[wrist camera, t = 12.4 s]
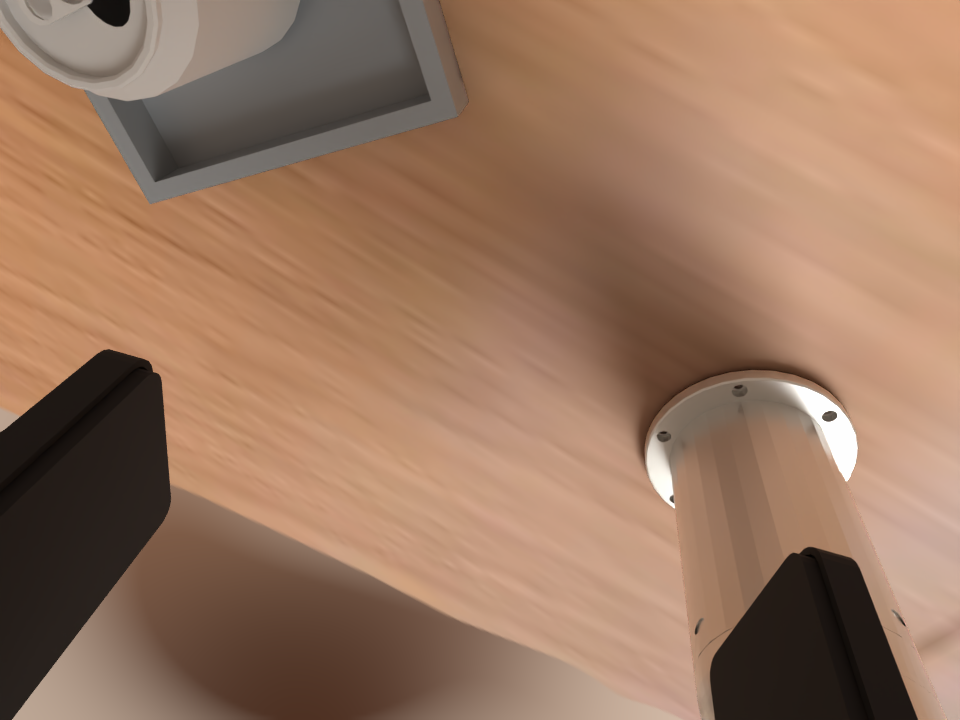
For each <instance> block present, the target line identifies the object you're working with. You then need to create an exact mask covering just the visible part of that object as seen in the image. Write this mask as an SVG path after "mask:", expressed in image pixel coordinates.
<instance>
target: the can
mask: <svg viewBox="0 0 960 720" xmlns="http://www.w3.org/2000/svg"><path fill="white" fill-rule="evenodd" d="M299 3H300V0H0V28H1V29H2V30H3V32H4V33H5V34H6V35H7V37H8V38H9V39H10V41H11V42H12V43H13V44H14V46H15V47H16V48H17V50H18V51H19V52H20V53H22V54H23V55H24V56H25V57H26V58H27V59H29V60H30V61H31V62H32V63H33V64H34V65H36V66H37V67H38V68H39V69H40V70H42V71H43V72H44V73H45V74H47V75H49V76H51V77H53V78H55V79H57V80H59V81H61V82H63V83H65V84H67V85H69V86H71V87H74V88H79V89H84V90H89V91H91V92H92V93H94V94H96V95H99V96H104V97H109V98H114V99H119V100H124V101H132V100H138V99H144V98H150V97H156V96H158V95H160V94H163V93H165V92H168V91H170V90H172V89H175V88H177V87H180V86H182V85H184V84H187V83H189V82H192V81H194V80H196V79H199V78H201V77H203V76H206V75H208V74H211V73H213V72H215V71H218V70H220V69H223V68H225V67H227V66H230V65H232V64H235V63H237V62H239V61H242V60H244V59H247V58H249V57H251V56H254V55H256V54H259V53H261V52H263V51H265V50H266V49H268V48H269V47H271V46H272V45H274V44H276V43H277V42H279V41H280V40H281V39H282V38H283V36H284V35H285V34H286V32H287V31H288V29H289V28H290V27H291V25H292V24H293V22H294V21H295V17H296V14H297V10H298V6H299Z"/></svg>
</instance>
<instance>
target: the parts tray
mask: <svg viewBox="0 0 960 720" xmlns="http://www.w3.org/2000/svg"><path fill="white" fill-rule="evenodd" d="M84 91H85V92H86V94H87V96H88V98H89V99H90V101H91V103H92V105H93V106H94V108H95V110H96V112H97V113H98V115H99V117H100V118H101V120H102V122H103V124H104V125H105V127H106V129H107V131H108V132H109V134H110V136H111V138H112V139H113V141H114V143H115V145H116V146H117V148H118V150H119V151H120V153H121V155H122V157H123V158H124V160H125V162H126V164H127V165H128V167H129V169H130V171H131V172H132V174H133V176H134V178H135V179H136V181H137V183H138V184H139V186H140V188H141V190H142V191H143V193H144V195H145V197H146V198H147V200H148V202H149V204H152V203H156V202H159V201H163V200H166V199H170V198H173V197H177V196H180V195H184V194H187V193H191V192H195V191H198V190H202V189H205V188H209V187H212V186H216V185H219V184H223V183H226V182H230V181H233V180H237V179H240V178H244V177H247V176H251V175H254V174H258V173H262V172H265V171H269V170H272V169H276V168H279V167H283V166H286V165H290V164H293V163H297V162H300V161H304V160H307V159H311V158H314V157H318V156H321V155H325V154H328V153H332V152H336V151H339V150H343V149H346V148H350V147H353V146H357V145H360V144H364V143H367V142H371V141H374V140H378V139H381V138H385V137H388V136H392V135H395V134H399V133H402V132H406V131H410V130H413V129H417V128H420V127H424V126H427V125H431V124H434V123H438V122H441V121H445V120H448V119H452V118H455V117H458V116H459V115H460V113H461V112H462V111H463V109H464V108H465V106H466V105H467V104H468V102H469V100H468V97H467V93H466V90H465V87H464V83H463V80H462V76H461V73H460V70H459V66H458V63H457V59H456V56H455V53H454V49H453V46H452V43H451V39H450V36H449V32H448V29H447V26H446V22H445V19H444V15H443V12H442V9H441V5H440V2H439V0H300V3H299V6H298V10H297V14H296V17H295V21H294V22H293V24H292V25H291V27H290V28H289V29H288V31H287V32H286V34H285V35H284V36H283V38H282V39H281V40H280V41H279V42H277V43H276V44H274V45H272V46H271V47H269V48H268V49H266V50H265V51H263V52H261V53H259V54H256V55H254V56H251V57H249V58H247V59H244V60H242V61H239V62H237V63H235V64H232V65H230V66H227V67H225V68H223V69H220V70H218V71H215V72H213V73H211V74H208V75H206V76H203V77H201V78H199V79H196V80H194V81H192V82H189V83H187V84H184V85H182V86H180V87H177V88H175V89H172V90H170V91H168V92H165V93H163V94H160V95H158V96H156V97H150V98H144V99H138V100H132V101H124V100H119V99H114V98H109V97H104V96H99V95H96V94H94V93H92V92H91V91H89V90H84Z"/></svg>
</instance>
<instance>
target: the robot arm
mask: <svg viewBox="0 0 960 720" xmlns="http://www.w3.org/2000/svg"><path fill="white" fill-rule="evenodd" d="M644 450H645V465H646V470H647V474H648V478H649V480H650V482H651V484H652V486H653V488H654V489H655V491H656V492H657V493H658V494H659V495H660V497H661V498H662V499H663V500H664V501H665V502H666V503H668V504H669V505H670V506H671V507H673V508H674V509H675V512H676V521H677V530H678V538H679V547H680V556H681V564H682V573H683V582H684V590H685V599H686V608H687V616H688V625H689V634H690V642H691V651H692V660H693V668H694V677H695V685H696V693H697V701H698V706H699V711H700V715H701V719H702V720H947V718H946V716H945V714H944V711H943V709H942V707H941V704H940V702H939V700H938V698H937V695H936V693H935V691H934V688H933V686H932V684H931V681H930V679H929V677H928V674H927V672H926V669H925V667H924V665H923V662H922V660H921V658H920V655H919V653H918V651H917V648H916V646H915V643H914V641H913V639H912V636H911V634H910V632H909V629H908V627H907V624H906V622H905V620H904V617H903V615H902V613H901V610H900V608H899V606H898V603H897V601H896V598H895V596H894V594H893V591H892V589H891V587H890V584H889V582H888V579H887V577H886V575H885V572H884V570H883V568H882V565H881V563H880V560H879V558H878V556H877V553H876V551H875V549H874V546H873V544H872V541H871V539H870V537H869V534H868V532H867V530H866V527H865V525H864V523H863V520H862V518H861V515H860V513H859V511H858V508H857V506H856V504H855V501H854V499H853V496H852V494H851V492H850V489H849V487H848V485H847V480H848V479H849V478H850V476H851V474H852V471H853V469H854V467H855V464H856V461H857V454H858V442H857V435H856V431H855V429H854V426H853V424H852V422H851V419H850V417H849V415H848V414H847V412H846V411H845V409H844V407H843V406H842V404H841V403H840V402H839V401H838V400H837V399H836V398H835V397H834V396H833V395H832V394H831V393H830V392H829V391H827V390H825V389H824V388H822V387H821V386H819V385H817V384H816V383H814V382H812V381H809V380H807V379H804V378H802V377H799V376H796V375H793V374H788V373H783V372H778V371H768V370H746V371H737V372H730V373H726V374H722V375H718V376H714V377H710V378H708V379H706V380H703V381H701V382H699V383H696V384H694V385H692V386H690V387H688V388H687V389H685V390H684V391H682V392H680V393H679V394H677V395H676V396H675V397H673V398H672V399H671V400H670V401H669V402H668V403H667V404H666V405H665V406H664V407H662V409H661V410H660V412H659V413H658V414H657V416H656V417H655V418H654V420H653V421H652V424H651V426H650V428H649V430H648V433H647V436H646V442H645V448H644ZM170 502H171V493H170V481H169V468H168V456H167V443H166V431H165V418H164V405H163V393H162V381H161V377H160V375H159V374H157V373H154V372H153V369H152V365H151V364H150V362H149V361H147V360H145V359H142V358H138V357H135V356H131V355H127V354H124V353H120V352H117V351H113V350H110V349H108V350H103V351H101V352H100V353H98V354H97V355H95V356H94V357H93V358H92V359H90V360H89V361H88V362H87V363H86V364H84V365H83V366H82V367H81V368H79V369H78V370H77V371H76V372H75V373H73V374H72V375H71V376H70V377H68V378H67V379H66V380H65V381H64V382H62V383H61V384H60V385H59V386H57V387H56V388H55V389H54V390H53V391H51V392H50V393H49V394H48V395H46V396H45V397H44V398H43V399H41V400H40V401H39V402H38V403H37V404H35V405H34V406H33V407H32V408H30V409H29V410H28V411H27V412H26V413H24V414H23V415H22V416H21V417H19V418H18V419H17V420H16V421H15V422H13V423H12V424H11V425H10V426H8V427H7V428H6V429H5V430H3V431H2V432H0V720H12V719H13V717H14V716H15V715H16V713H17V712H18V711H19V710H20V708H21V707H22V706H23V704H24V703H25V701H26V700H27V699H28V698H29V696H30V695H31V694H32V692H33V691H34V690H35V688H36V687H37V686H38V685H39V683H40V682H41V681H42V679H43V678H44V677H45V676H46V674H47V673H48V672H49V670H50V669H51V668H52V666H53V665H54V664H55V662H56V661H57V660H58V658H59V657H60V656H61V655H62V653H63V652H64V651H65V649H66V648H67V647H68V645H69V644H70V643H71V642H72V640H73V639H74V638H75V636H76V635H77V634H78V632H79V631H80V630H81V628H82V627H83V626H84V624H85V623H86V622H87V621H88V619H89V618H90V616H91V615H92V614H93V613H94V611H95V610H96V609H97V607H98V606H99V605H100V604H101V602H102V601H103V600H104V598H105V597H106V596H107V594H108V593H109V591H111V589H112V588H113V586H114V585H115V584H116V583H117V581H118V580H119V579H120V577H121V576H122V575H123V574H124V572H125V571H126V570H127V568H128V567H129V566H130V564H131V563H132V562H133V560H134V559H135V558H136V556H137V555H138V554H139V552H140V551H141V550H142V549H143V547H144V546H145V545H146V543H147V542H148V541H149V539H150V538H151V537H152V535H153V534H154V533H155V532H156V530H157V529H158V528H159V526H160V525H161V524H162V522H163V521H164V519H165V517H166V515H167V513H168V510H169V507H170Z"/></svg>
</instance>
